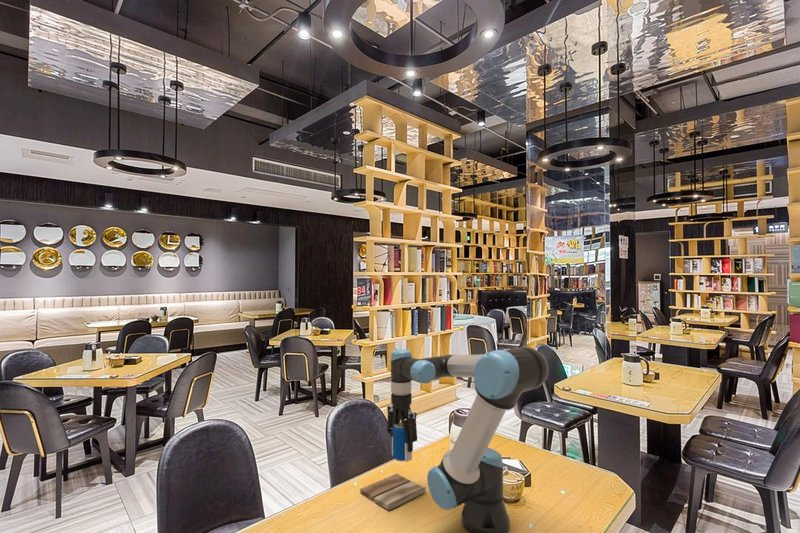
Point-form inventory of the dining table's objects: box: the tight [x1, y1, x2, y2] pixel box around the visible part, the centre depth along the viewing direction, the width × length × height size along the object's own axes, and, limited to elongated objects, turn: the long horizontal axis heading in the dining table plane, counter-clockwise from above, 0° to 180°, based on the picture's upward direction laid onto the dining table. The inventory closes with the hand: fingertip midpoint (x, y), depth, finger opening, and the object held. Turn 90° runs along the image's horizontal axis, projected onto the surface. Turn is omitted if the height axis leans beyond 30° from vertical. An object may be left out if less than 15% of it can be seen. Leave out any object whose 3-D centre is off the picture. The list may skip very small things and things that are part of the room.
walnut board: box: [359, 473, 411, 503], centre depth 148 cm, size 8×18×2 cm, turn 132°
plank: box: [374, 480, 427, 511], centre depth 142 cm, size 8×18×2 cm, turn 132°
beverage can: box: [392, 421, 410, 462], centre depth 142 cm, size 6×6×12 cm
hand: (401, 457), depth 142 cm, fingers closed on beverage can, 6 cm apart
